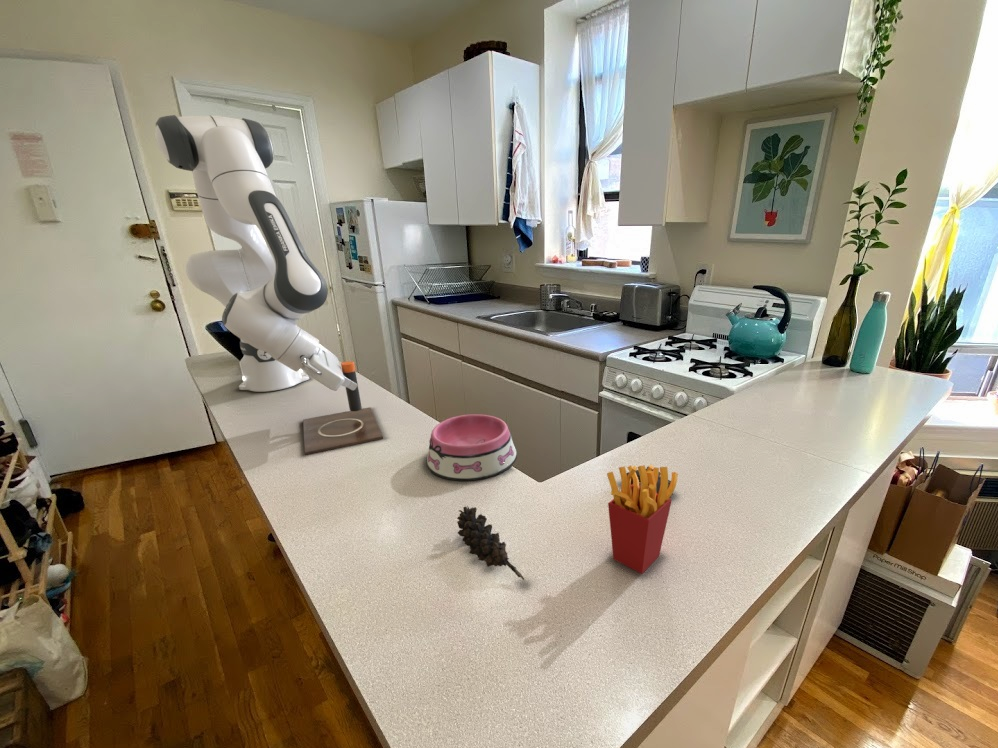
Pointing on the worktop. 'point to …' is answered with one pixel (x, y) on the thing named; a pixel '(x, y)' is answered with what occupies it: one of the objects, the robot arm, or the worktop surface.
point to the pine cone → (483, 539)
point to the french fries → (639, 515)
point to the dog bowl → (470, 448)
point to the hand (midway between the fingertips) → (354, 384)
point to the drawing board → (340, 430)
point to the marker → (352, 395)
